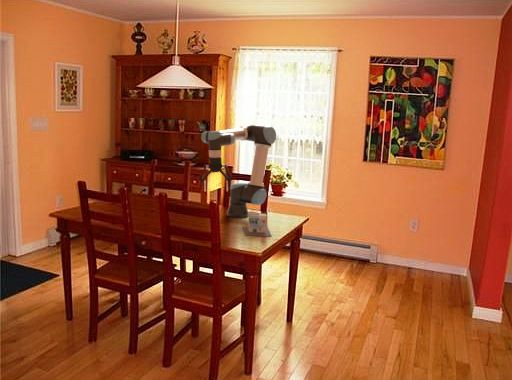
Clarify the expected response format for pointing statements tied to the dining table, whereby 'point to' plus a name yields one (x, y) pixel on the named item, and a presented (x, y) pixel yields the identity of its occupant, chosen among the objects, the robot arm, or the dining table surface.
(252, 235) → the mat
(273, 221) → the dining table surface
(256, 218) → the light bulb box
